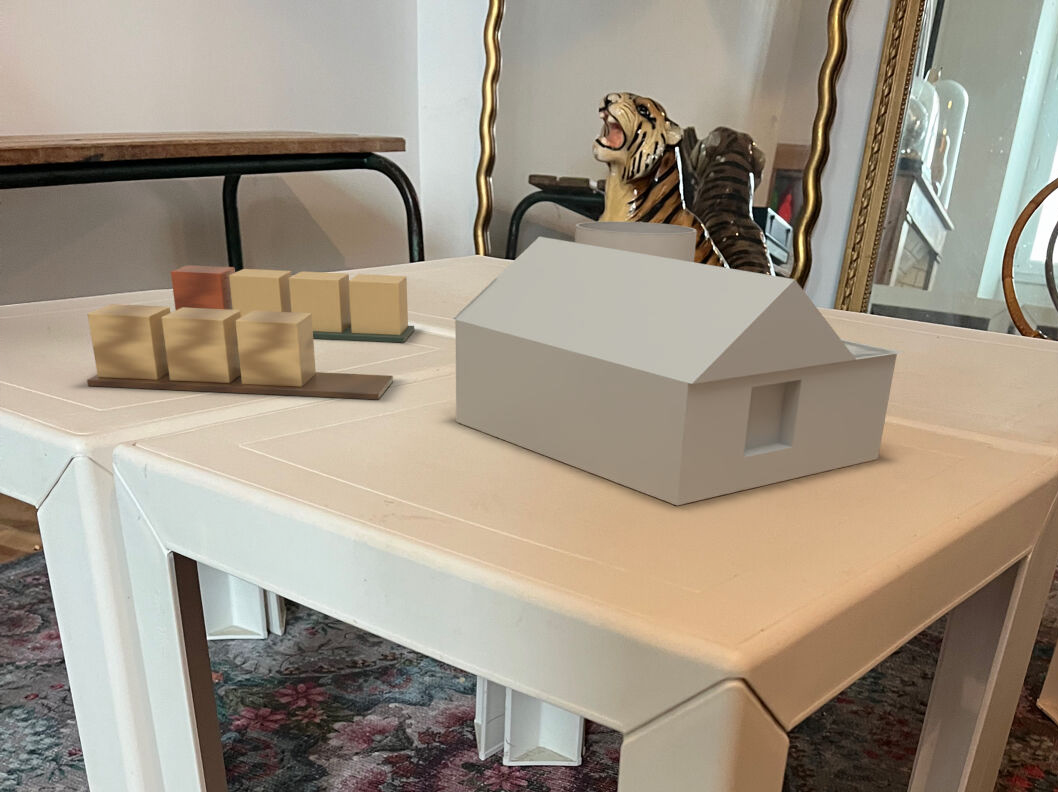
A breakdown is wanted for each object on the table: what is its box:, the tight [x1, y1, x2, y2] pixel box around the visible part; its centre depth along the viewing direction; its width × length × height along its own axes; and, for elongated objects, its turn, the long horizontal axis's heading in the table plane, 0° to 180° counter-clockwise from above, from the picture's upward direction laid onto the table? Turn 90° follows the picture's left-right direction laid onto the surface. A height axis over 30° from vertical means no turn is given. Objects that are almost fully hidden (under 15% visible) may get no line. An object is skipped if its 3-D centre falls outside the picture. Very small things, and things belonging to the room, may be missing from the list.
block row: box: [229, 268, 415, 344], centre depth 115 cm, size 24×7×6 cm, turn 88°
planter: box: [574, 220, 698, 263], centre depth 121 cm, size 13×13×10 cm
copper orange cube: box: [170, 264, 236, 311], centre depth 115 cm, size 5×5×5 cm
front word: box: [86, 303, 394, 400], centre depth 94 cm, size 24×7×6 cm, turn 88°
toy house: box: [453, 236, 905, 506], centre depth 81 cm, size 25×21×13 cm
